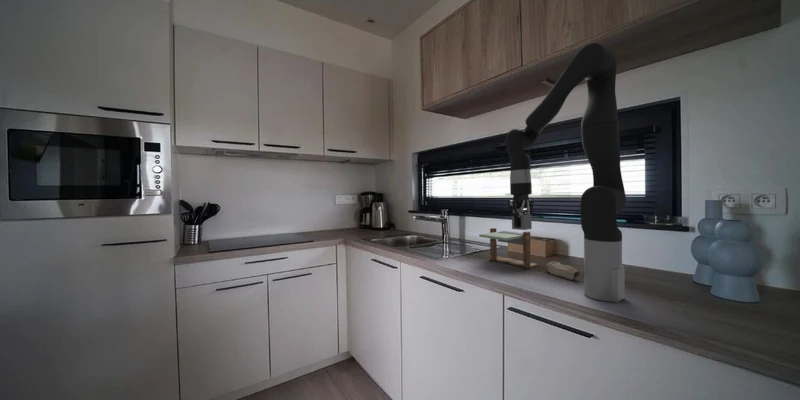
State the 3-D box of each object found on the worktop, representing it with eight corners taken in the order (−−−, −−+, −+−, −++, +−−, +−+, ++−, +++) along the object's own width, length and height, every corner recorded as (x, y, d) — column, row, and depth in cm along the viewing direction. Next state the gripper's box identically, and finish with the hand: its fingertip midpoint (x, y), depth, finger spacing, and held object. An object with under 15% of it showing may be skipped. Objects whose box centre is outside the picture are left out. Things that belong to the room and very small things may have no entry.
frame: (537, 265, 121) (537, 231, 120) (528, 268, 116) (528, 232, 116) (498, 258, 136) (498, 227, 136) (489, 260, 132) (489, 228, 131)
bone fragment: (543, 271, 113) (543, 259, 112) (558, 271, 113) (558, 259, 113) (565, 282, 99) (565, 269, 99) (582, 281, 100) (582, 268, 99)
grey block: (531, 228, 106) (531, 214, 106) (524, 229, 103) (524, 215, 103) (519, 228, 110) (518, 214, 110) (512, 229, 107) (511, 214, 107)
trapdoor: (531, 243, 123) (531, 233, 122) (507, 249, 112) (507, 238, 112) (503, 240, 134) (503, 230, 133) (479, 244, 123) (479, 234, 123)
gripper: (519, 181, 99) (520, 229, 99) (540, 182, 108) (541, 226, 108) (500, 182, 105) (502, 227, 105) (521, 183, 114) (523, 225, 114)
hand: (521, 226), depth 107 cm, fingers closed on grey block, 5 cm apart
